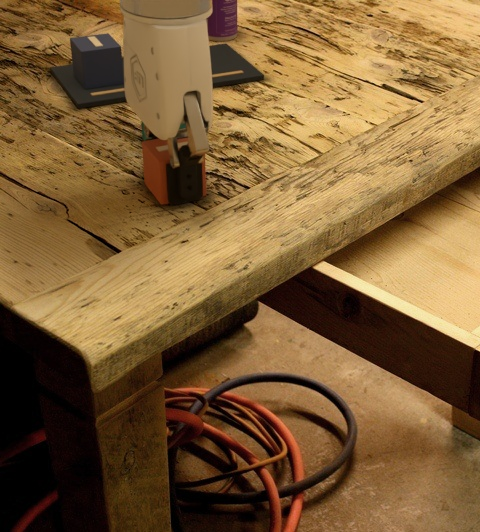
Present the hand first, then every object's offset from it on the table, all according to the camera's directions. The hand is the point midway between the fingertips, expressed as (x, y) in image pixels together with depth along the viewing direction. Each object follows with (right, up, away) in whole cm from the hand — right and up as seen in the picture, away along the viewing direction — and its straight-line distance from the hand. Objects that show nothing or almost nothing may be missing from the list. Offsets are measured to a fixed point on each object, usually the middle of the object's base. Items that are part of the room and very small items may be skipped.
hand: (175, 186), depth 86 cm
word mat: (-6, +15, +22) cm, 27 cm away
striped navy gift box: (-12, +14, +19) cm, 26 cm away
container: (-1, +23, +35) cm, 41 cm away
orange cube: (0, 0, 0) cm, 0 cm away
